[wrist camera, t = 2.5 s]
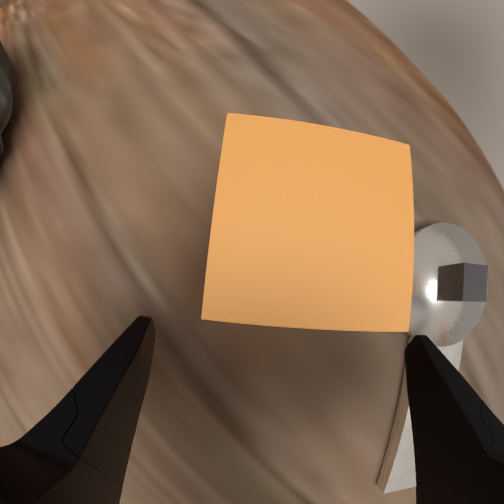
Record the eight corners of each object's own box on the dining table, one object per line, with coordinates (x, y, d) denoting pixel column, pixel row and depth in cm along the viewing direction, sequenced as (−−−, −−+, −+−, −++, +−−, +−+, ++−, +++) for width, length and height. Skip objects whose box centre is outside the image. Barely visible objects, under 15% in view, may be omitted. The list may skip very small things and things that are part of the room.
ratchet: (437, 470, 19) (465, 492, 14) (351, 488, 18) (371, 520, 14) (474, 235, 21) (512, 224, 17) (389, 219, 21) (424, 202, 16)
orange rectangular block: (308, 308, 20) (408, 332, 8) (222, 301, 20) (201, 319, 7) (315, 225, 21) (409, 144, 8) (231, 215, 21) (227, 112, 8)
